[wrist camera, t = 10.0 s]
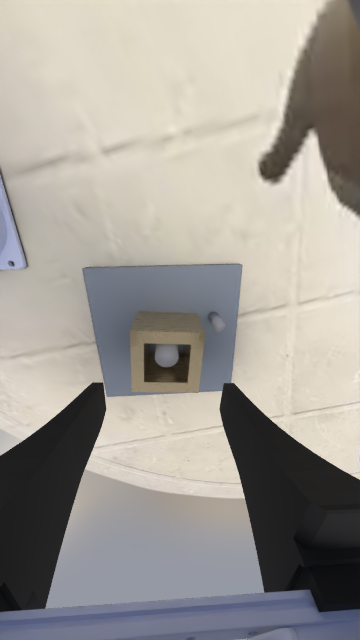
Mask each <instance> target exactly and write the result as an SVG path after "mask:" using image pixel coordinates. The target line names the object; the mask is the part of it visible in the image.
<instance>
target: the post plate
mask: <svg viewBox="0 0 360 640" xmlns="http://www.w3.org/2000/svg"><path fill="white" fill-rule="evenodd" d="M82 270H83V276H84V281H85V286H86V291H87V296H88V301H89V306H90V312H91V317H92V322H93V327H94V332H95V337H96V342H97V348H98V353H99V358H100V363H101V368H102V373H103V379H104V384H105V389H106V394H107V397H114V396H133V395H153V394H172V393H188V392H132V380H131V351H130V329H131V327H132V325H133V322H134V320H135V318H136V316H137V313H138V311H153V312H178V313H197V314H198V316H199V319H200V321H201V323H202V326H203V328H204V331H205V342H204V350H203V359H202V367H201V375H200V384H199V392H210V391H223V385H224V383H231V379H232V369H233V358H234V348H235V337H236V327H237V317H238V306H239V296H240V285H241V275H242V265H241V264H206V265H163V266H120V267H86V268H82ZM184 346H185V344H153V343H149V354H155V361H156V362H157V364H158V365H160V366H162V367H171V366H173V365H175V364H176V363H177V361H178V358H179V355H178V354H184Z"/></svg>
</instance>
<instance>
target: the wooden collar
mask: <svg viewBox="0 0 360 640" xmlns="http://www.w3.org/2000/svg"><path fill="white" fill-rule="evenodd" d="M204 342H205V331H204V328H203V326H202V323H201V321H200V319H199V316H198V314H197V313H178V312H153V311H138V313H137V316H136V318H135V320H134V322H133V325H132V327H131V329H130V351H131V380H132V392H188V393H198V392H199V384H200V375H201V367H202V359H203V350H204ZM149 343H153V344H185V346H184V354H178V355H179V358H178V361H177V363H176V364H175V365H173V366H171V367H162V366H160V365H158V364H157V362H156V361H155V354H149Z"/></svg>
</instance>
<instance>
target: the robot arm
mask: <svg viewBox="0 0 360 640" xmlns="http://www.w3.org/2000/svg"><path fill="white" fill-rule="evenodd" d="M12 261H13V262H14V263H15V266H13V265H12ZM25 267H26V261H25V257H24V254H23V250H22V247H21V244H20V240H19V237H18V233H17V230H16V227H15V223H14V220H13V216H12V213H11V209H10V206H9V203H8V199H7V196H6V192H5V189H4V186H3V182H2V179H1V175H0V270H19V269H24V268H25ZM105 412H106V403H105V394H104V386H103V383H92V384H90V385H89V386H88V387H87V388H86V389H85V390H84V391H83V392H82V393H81V394H80V395H79V396H78V397H76V398H75V399H74V400H73V401H72V402H71V403H70V404H69V405H68V406H67V407H65V408H64V409H63V410H62V411H61V412H60V413H59V414H57V415H56V416H55V417H54V418H53V419H51V420H50V421H49V422H48V423H47V424H45V425H44V426H43V427H41V428H40V429H39V430H38V431H36V432H35V433H33V434H32V435H31V436H29V437H28V438H27V439H25V440H24V441H22V442H21V443H19V444H18V445H16V446H15V447H13V448H12V449H10V450H9V451H7V452H6V453H4V454H2V455H1V456H0V640H235V639H246V638H249V639H247V640H360V480H359V479H357V478H355V477H353V476H352V475H350V474H348V473H346V472H344V471H343V470H341V469H339V468H337V467H336V466H334V465H333V464H331V463H329V462H328V461H326V460H324V459H323V458H321V457H320V456H318V455H317V454H315V453H313V452H312V451H311V450H309V449H308V448H306V447H305V446H303V445H302V444H300V443H299V442H298V441H296V440H295V439H294V438H292V437H291V436H290V435H288V434H287V433H286V432H285V431H283V430H282V429H281V428H279V427H278V426H277V425H276V424H275V423H274V422H272V421H271V420H270V419H269V418H268V417H267V416H266V415H265V414H264V413H262V412H261V411H260V410H259V409H258V408H257V407H256V406H255V405H254V404H253V403H252V402H251V401H250V400H249V399H248V398H247V397H246V396H245V395H244V394H243V392H242V391H241V390H240V389H239V388H238V387H237V386H236V385H235V384H234V383H224V385H223V391H222V398H221V404H220V413H221V418H222V422H223V427H224V430H225V433H226V436H227V439H228V442H229V445H230V448H231V451H232V453H233V456H234V459H235V462H236V465H237V469H238V472H239V475H240V479H241V483H242V488H243V492H244V496H245V500H246V504H247V509H248V513H249V517H250V522H251V527H252V531H253V536H254V540H255V546H256V550H257V555H258V561H259V566H260V571H261V576H262V581H263V586H264V592H265V593H255V594H242V595H228V596H215V597H201V598H186V599H173V600H159V601H146V602H132V603H119V604H104V605H91V606H78V607H63V608H49V609H45V607H46V603H47V599H48V595H49V591H50V587H51V583H52V579H53V575H54V571H55V567H56V564H57V560H58V556H59V552H60V549H61V545H62V542H63V538H64V534H65V531H66V527H67V524H68V520H69V517H70V513H71V510H72V507H73V503H74V500H75V497H76V493H77V490H78V487H79V484H80V481H81V477H82V475H83V472H84V469H85V467H86V464H87V462H88V459H89V457H90V455H91V452H92V450H93V447H94V445H95V442H96V440H97V437H98V435H99V432H100V429H101V427H102V423H103V420H104V416H105Z"/></svg>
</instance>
